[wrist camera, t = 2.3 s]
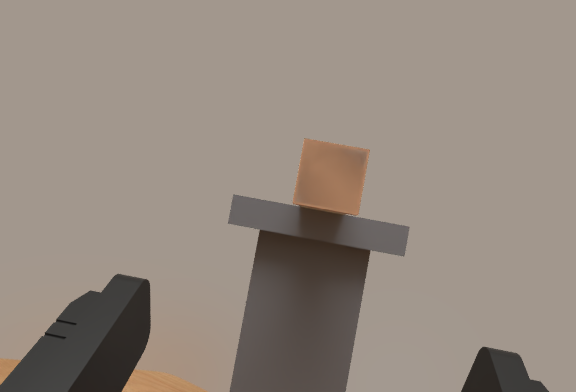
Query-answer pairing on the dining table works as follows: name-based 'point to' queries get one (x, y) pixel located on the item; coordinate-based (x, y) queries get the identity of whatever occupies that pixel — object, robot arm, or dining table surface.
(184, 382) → the dining table surface
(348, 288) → the pedestal
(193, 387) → the dining table surface
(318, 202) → the bar
